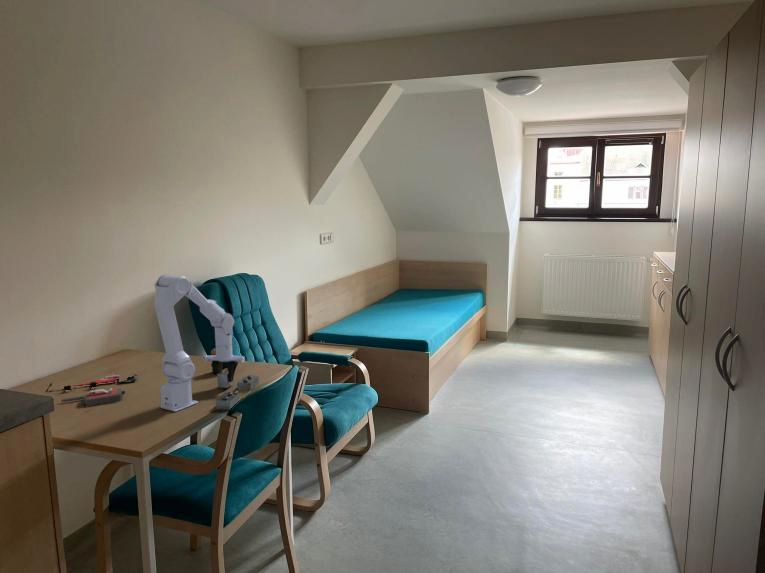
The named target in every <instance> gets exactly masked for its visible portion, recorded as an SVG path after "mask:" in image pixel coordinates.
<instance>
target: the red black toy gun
mask: <svg viewBox="0 0 765 573" xmlns="http://www.w3.org/2000/svg"><path fill="white" fill-rule="evenodd" d="M117 374H118V373H117ZM117 374H116V375H111V376H106V377H105V379H103V378H102V379H100V380H97V381H91V382H88V383H85V384H81V383H80V384H79V385H73V386H83V385H90V386H91V387H90V389H91V388H92V387H97V388H98V386H97V385H96V384H98V383H108V382H115V381H116V382H117V384H121V383H125V382H126V383H127V382H134V381H137V380H138V374H137V375H136V374H133V375H134V376H132V377H128V378H127V380H124V381H121V382H118V381H117V380H116V378H119V377H120V374H118V375H117ZM65 390H71V391H72V389H71V386H70V385H68V386H64V390H63V391H65Z"/></svg>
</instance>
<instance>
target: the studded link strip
mask: <svg viewBox="0 0 765 573" xmlns="http://www.w3.org/2000/svg"><path fill="white" fill-rule="evenodd" d="M257 384H258V385H259V384H260V383H259V376H258V375H251V374H250V375H245V376H243V377H242V378H241V379H240V380H238V381H237V382H236V386H237V387H236V388H237V390H236V391H235V392H234V391H233V392H232V391H228V392H224V393H222V395H221V396H219V397H218V398H217V399H215V403H214V404H215V410H220V411H221V410H223V411H226V410H227V411H231V410H232V409H233V408H234V407H235V406H236V405H237V404H238V403H239V402H238V401H239V400H240V399H241V398H243V397H244V398H245V397H246V396H247V395H248V394H249V393H250V392H252V391H253V390H254V389H255V388H256V387H257V386H258V385H257ZM256 385H257V386H256ZM255 386H256V387H255ZM254 387H255V388H254ZM253 388H254V389H253ZM252 389H253V390H252ZM244 398H243V399H244ZM237 402H238V403H237ZM236 403H237V404H236ZM235 404H236V405H235ZM234 405H235V406H234ZM233 406H234V407H233ZM232 407H233V408H232ZM231 408H232V409H231ZM230 409H231V410H230Z"/></svg>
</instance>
